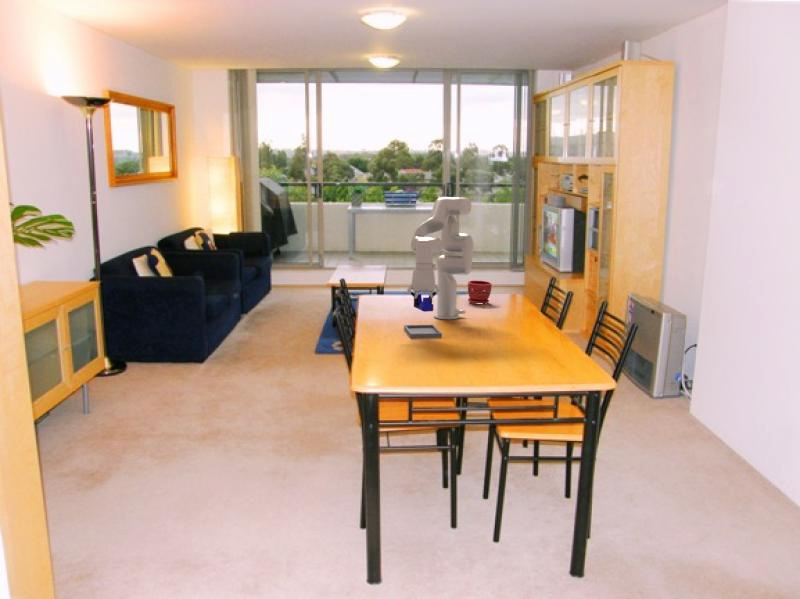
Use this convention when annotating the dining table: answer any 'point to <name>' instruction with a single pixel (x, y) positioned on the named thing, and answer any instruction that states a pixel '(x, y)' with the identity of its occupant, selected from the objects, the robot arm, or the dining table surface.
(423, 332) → the shallow rectangular tray
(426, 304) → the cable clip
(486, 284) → the plant pot
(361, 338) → the dining table surface
